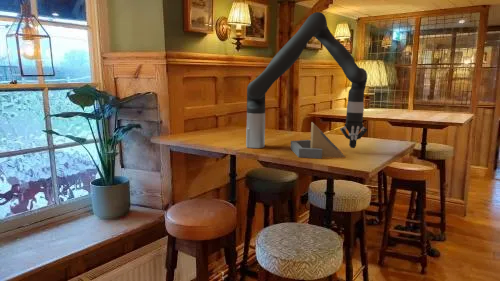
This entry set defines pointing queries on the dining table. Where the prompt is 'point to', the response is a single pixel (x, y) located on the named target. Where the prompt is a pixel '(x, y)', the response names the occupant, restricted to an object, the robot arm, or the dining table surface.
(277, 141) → the dining table surface
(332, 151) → the sandwich container
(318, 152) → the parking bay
